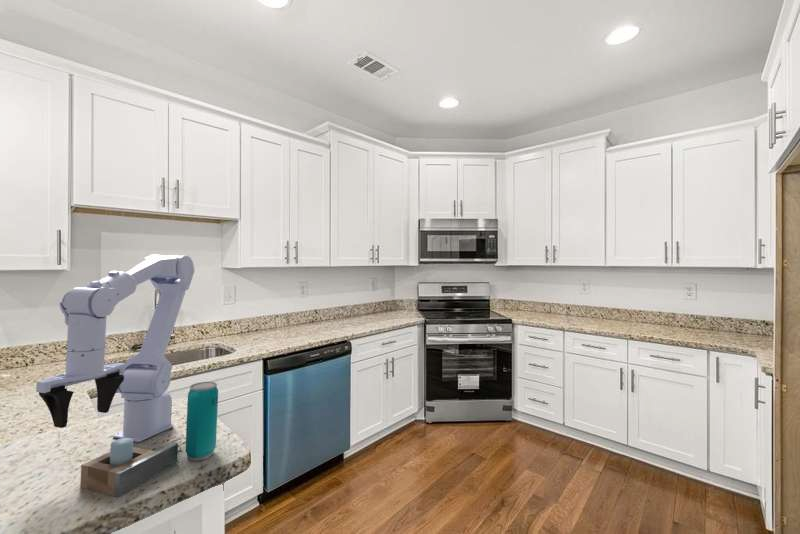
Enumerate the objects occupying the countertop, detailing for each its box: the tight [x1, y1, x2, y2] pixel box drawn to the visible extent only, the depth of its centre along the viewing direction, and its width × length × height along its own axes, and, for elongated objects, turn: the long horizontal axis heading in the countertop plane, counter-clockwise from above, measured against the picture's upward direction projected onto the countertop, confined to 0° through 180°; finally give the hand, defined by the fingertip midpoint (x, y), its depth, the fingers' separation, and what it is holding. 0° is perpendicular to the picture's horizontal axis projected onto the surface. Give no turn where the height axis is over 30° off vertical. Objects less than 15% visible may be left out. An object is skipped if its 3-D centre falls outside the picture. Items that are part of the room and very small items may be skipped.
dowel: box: [109, 438, 134, 467], centre depth 69 cm, size 3×3×7 cm
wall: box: [114, 442, 179, 498], centre depth 70 cm, size 12×1×4 cm, turn 165°
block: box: [79, 446, 157, 497], centre depth 69 cm, size 8×8×4 cm
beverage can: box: [185, 381, 219, 462], centre depth 79 cm, size 6×6×15 cm
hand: (82, 418), depth 72 cm, fingers open, 7 cm apart
